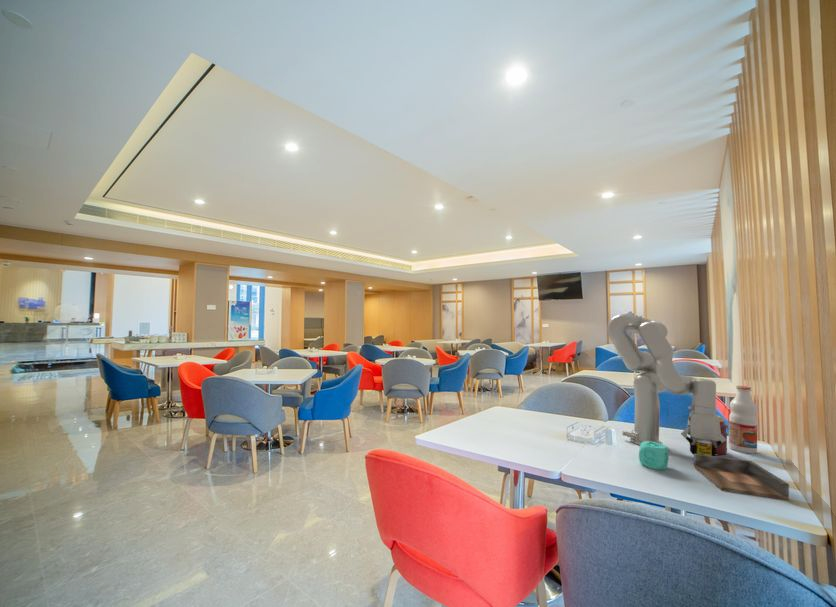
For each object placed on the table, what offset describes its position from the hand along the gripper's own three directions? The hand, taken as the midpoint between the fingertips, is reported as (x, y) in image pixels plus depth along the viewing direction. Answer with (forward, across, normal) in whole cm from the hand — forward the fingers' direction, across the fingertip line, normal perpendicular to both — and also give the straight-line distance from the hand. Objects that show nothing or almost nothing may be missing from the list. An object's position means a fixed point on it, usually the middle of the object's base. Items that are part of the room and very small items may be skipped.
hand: (702, 454), depth 148 cm
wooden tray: (+2, +2, -20) cm, 20 cm away
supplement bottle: (+2, 0, 0) cm, 2 cm away
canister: (+2, +8, +15) cm, 17 cm away
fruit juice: (+2, +24, +22) cm, 33 cm away
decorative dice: (+2, -22, -15) cm, 27 cm away
